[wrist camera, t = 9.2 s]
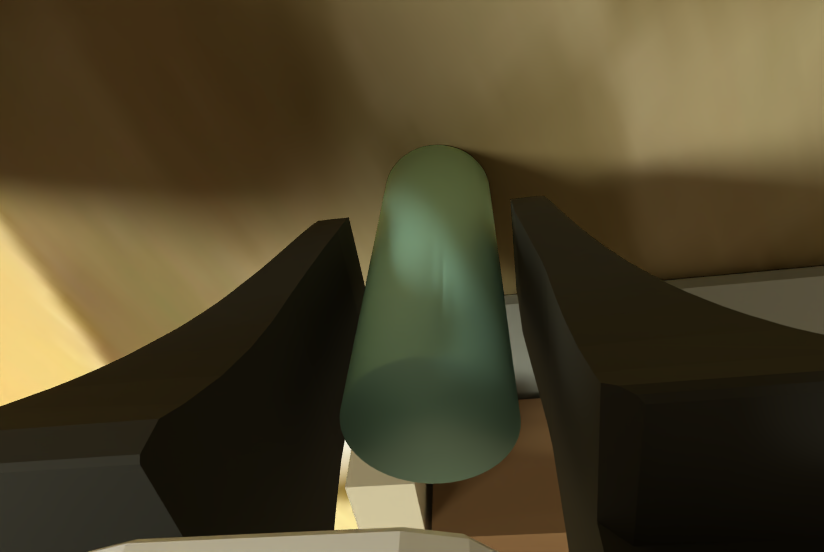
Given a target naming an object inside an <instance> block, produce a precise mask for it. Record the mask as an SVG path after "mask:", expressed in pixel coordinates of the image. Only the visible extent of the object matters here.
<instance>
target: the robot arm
mask: <svg viewBox="0 0 824 552" xmlns="http://www.w3.org/2000/svg"><path fill="white" fill-rule="evenodd" d="M510 200H511V214H512V229H513V244H514V258H515V273H516V288H517V296H518V303H519V311H520V318H521V325H522V332H523V336H524V339H525V343H526V347H527V351H528V354H529V358H530V362H531V365H532V369H533V373H534V376H535V380H536V384H537V387H538V391H539V395H540V398H541V402H542V406H543V409H544V413H545V417H546V420H547V424H548V429H549V433H550V438H551V442H552V447H553V453H554V459H555V465H556V472H557V478H558V484H559V490H560V497H561V503H562V510H563V516H564V523H565V529H566V536H567V542H568V549H569V552H824V334H819V333H815V332H810V331H806V330H801V329H796V328H793V327H789V326H785V325H782V324H778V323H775V322H771V321H768V320H765V319H761V318H758V317H755V316H751V315H748V314H745V313H742V312H739V311H736V310H733V309H730V308H727V307H724V306H721V305H718V304H716V303H713V302H711V301H708V300H706V299H703V298H701V297H698V296H696V295H693V294H691V293H688V292H686V291H684V290H682V289H679V288H677V287H675V286H673V285H670V284H668V283H666V282H664V281H662V280H661V279H659V278H657V277H655V276H653V275H651V274H649V273H647V272H645V271H643V270H641V269H640V268H638V267H636V266H634V265H633V264H631V263H629V262H628V261H626V260H624V259H623V258H621V257H620V256H618V255H617V254H615V253H614V252H612V251H611V250H609V249H608V248H606V247H605V246H603V245H602V244H601V243H599V242H598V241H596V240H595V239H594V238H593V237H591V236H590V235H589V234H587V233H586V232H585V231H584V230H582V229H581V228H580V227H579V226H578V225H576V224H575V223H574V222H573V221H572V220H571V219H570V218H568V217H567V216H566V215H565V214H564V213H563V212H562V211H561V210H560V209H558V208H557V207H556V206H555V205H554V204H553V203H552V202H551V201H550V200H548V199H547V198H546V197H545V196H535V197H526V198H518V199H510ZM364 291H365V285H364V280H363V276H362V272H361V267H360V263H359V259H358V255H357V250H356V246H355V242H354V238H353V233H352V229H351V225H350V221H349V217H348V218H340V219H331V220H322V221H317V222H316V223H314V224H313V225H312V226H310V227H309V228H308V229H307V230H305V231H304V232H303V233H302V234H301V235H300V236H298V237H297V238H296V239H295V240H294V241H293V242H292V243H290V244H289V245H288V246H287V247H286V248H285V249H284V250H282V251H281V252H280V253H279V254H278V255H277V256H276V257H274V258H273V259H272V260H271V261H270V262H269V263H267V264H266V265H265V266H264V267H263V268H262V269H260V270H259V271H258V272H257V273H255V274H254V275H253V276H252V277H250V278H249V279H248V280H246V281H245V282H244V283H243V284H241V285H240V286H239V287H238V288H236V289H235V290H234V291H232V292H231V293H230V294H229V295H227V296H226V297H225V298H223V299H222V300H220V301H219V302H218V303H216V304H215V305H213V306H212V307H210V308H209V309H207V310H206V311H204V312H203V313H201V314H200V315H198V316H197V317H195V318H193V319H192V320H190V321H189V322H187V323H186V324H184V325H182V326H181V327H179V328H177V329H176V330H174V331H172V332H170V333H168V334H166V335H164V336H163V337H161V338H159V339H157V340H155V341H153V342H151V343H150V344H148V345H146V346H144V347H142V348H140V349H138V350H136V351H135V352H133V353H131V354H129V355H127V356H125V357H123V358H121V359H118V360H116V361H114V362H112V363H110V364H108V365H105V366H103V367H101V368H99V369H97V370H94V371H92V372H90V373H87V374H85V375H83V376H80V377H78V378H76V379H73V380H71V381H68V382H66V383H63V384H61V385H58V386H56V387H53V388H51V389H48V390H45V391H42V392H40V393H37V394H34V395H31V396H28V397H26V398H23V399H20V400H17V401H14V402H12V403H9V404H6V405H3V406H0V552H498V551H496V550H494V549H492V548H490V547H488V546H486V545H484V544H483V543H481V542H479V541H477V540H475V539H473V538H471V537H469V536H467V535H465V534H460V533H451V532H442V531H433V530H425V529H416V528H407V527H393V528H372V529H350V530H334V524H335V513H336V503H337V494H338V485H339V475H340V466H341V458H342V452H343V447H344V441H345V438H344V436H343V434H342V431H341V426H340V409H341V404H342V399H343V394H344V389H345V384H346V379H347V374H348V369H349V365H350V360H351V355H352V350H353V345H354V340H355V335H356V330H357V325H358V320H359V315H360V310H361V305H362V301H363V296H364Z"/></svg>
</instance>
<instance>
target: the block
mask: <svg viewBox="0 0 824 552" xmlns="http://www.w3.org/2000/svg"><path fill="white" fill-rule="evenodd" d="M518 403H519V410H520V417H521V428H520V433H519V437H518V439H517V441H516V444H515V445H514V447H513V449H512V450H511V452H510V453H509V454H508V455H507V456H506V457H505V458H504V459H503V460H502V461H501V462H500V463H499V464H497V465H496V466H494V467H493V468H491V469H490V470H488V471H486V472H484V473H482V474H480V475H477V476H475V477H472V478H469V479H465V480H461V481H456V482H450V483H434V484H433V500H432V530H433V531H442V532H451V533H460V534H465V535H467V536H469V537H471V538H473V539H475V540H477V541H479V542H481V543H483V544H484V545H486V546H488V547H490V548H492V549H494V550H496V551H498V552H569V549H568V542H567V536H566V529H565V523H564V516H563V510H562V503H561V497H560V490H559V484H558V478H557V472H556V465H555V459H554V453H553V447H552V442H551V438H550V433H549V429H548V424H547V420H546V417H545V413H544V409H543V406H542V402H541V398H536V399H522V400H518Z"/></svg>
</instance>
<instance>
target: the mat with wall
mask: <svg viewBox="0 0 824 552" xmlns="http://www.w3.org/2000/svg"><path fill="white" fill-rule="evenodd" d="M664 282H666V283H668V284H670V285H673V286H675V287H677V288H679V289H682V290H684V291H686V292H688V293H691V294H693V295H696V296H698V297H701V298H703V299H706V300H708V301H711V302H713V303H716V304H718V305H721V306H724V307H727V308H730V309H733V310H736V311H739V312H742V313H745V314H748V315H751V316H755V317H758V318H761V319H765V320H768V321H771V322H775V323H778V324H782V325H785V326H789V327H793V328H796V329H801V330H806V331H810V332H815V333H819V334H824V266H817V267H806V268H795V269H785V270H774V271H763V272H752V273H741V274H731V275H720V276H709V277H698V278H688V279H677V280H666V281H664ZM504 299H505V306H506V314H507V321H508V328H509V336H510V343H511V351H512V358H513V366H514V373H515V380H516V388H517V395H518V400H522V399H536V398H540V395H539V391H538V387H537V384H536V380H535V376H534V373H533V369H532V365H531V362H530V358H529V354H528V351H527V347H526V343H525V339H524V336H523V332H522V325H521V318H520V311H519V303H518V296H517V294H515V295H504ZM345 489H346V492H347V495H348V498H349V501H350V504H351V507H352V510H353V513H354V516H355V519H356V522H357V525H358V529H372V528H393V527H407V528H416V529H425V530H432V500H433V484H429V483H417V482H411V481H406V480H402V479H398V478H395V477H392V476H389V475H387V474H384V473H382V472H380V471H378V470H376V469H374V468H373V467H371V466H369V465H368V464H367V463H365V462H364V461H363V460H361V459H360V458H359V457H358V456H357V455H356V454H355V453H354V452H353V451H352V450H351V455H350V461H349V467H348V473H347V479H346V485H345Z"/></svg>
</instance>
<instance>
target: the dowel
mask: <svg viewBox="0 0 824 552" xmlns="http://www.w3.org/2000/svg"><path fill="white" fill-rule="evenodd" d="M340 426H341V431H342V434H343V436H344V438H345V440H346V442H347V444H348V445H349V447H350V448H351V449H352V451H353V452H354V453H355V454H356V455H357V456H358V457H359V458H360V459H361V460H363V461H364V462H365V463H367V464H368V465H369V466H371V467H373V468H374V469H376V470H378V471H380V472H382V473H384V474H387V475H389V476H392V477H395V478H398V479H402V480H406V481H411V482H417V483H429V484H434V483H450V482H456V481H461V480H465V479H469V478H472V477H475V476H477V475H480V474H482V473H484V472H486V471H488V470H490V469H491V468H493V467H494V466H496V465H497V464H499V463H500V462H501V461H502V460H503V459H504V458H505V457H506V456H507V455H508V454H509V453H510V452H511V450H512V449H513V447H514V445H515V444H516V441H517V439H518V437H519V433H520V428H521V417H520V410H519V403H518V395H517V388H516V380H515V373H514V366H513V358H512V351H511V343H510V336H509V328H508V321H507V314H506V306H505V299H504V291H503V284H502V276H501V269H500V262H499V254H498V247H497V239H496V232H495V224H494V217H493V210H492V202H491V195H490V188H489V182H488V179H487V176H486V174H485V172H484V170H483V168H482V167H481V165H480V164H479V163H478V162H477V161H476V160H475V159H474V158H473V157H472V156H470V155H469V154H467V153H466V152H464V151H462V150H460V149H457V148H454V147H451V146H446V145H429V146H424V147H421V148H418V149H415V150H413V151H411V152H409V153H408V154H406V155H405V156H403V157H402V158H401V159H400V160H399V161H398V162H397V163H396V164H395V166H394V167H393V169H392V170H391V172H390V174H389V176H388V179H387V182H386V187H385V192H384V197H383V202H382V207H381V212H380V217H379V222H378V227H377V232H376V237H375V241H374V246H373V251H372V256H371V261H370V266H369V271H368V276H367V281H366V286H365V291H364V296H363V301H362V305H361V310H360V315H359V320H358V325H357V330H356V335H355V340H354V345H353V350H352V355H351V360H350V365H349V369H348V374H347V379H346V384H345V389H344V394H343V399H342V404H341V409H340Z"/></svg>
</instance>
